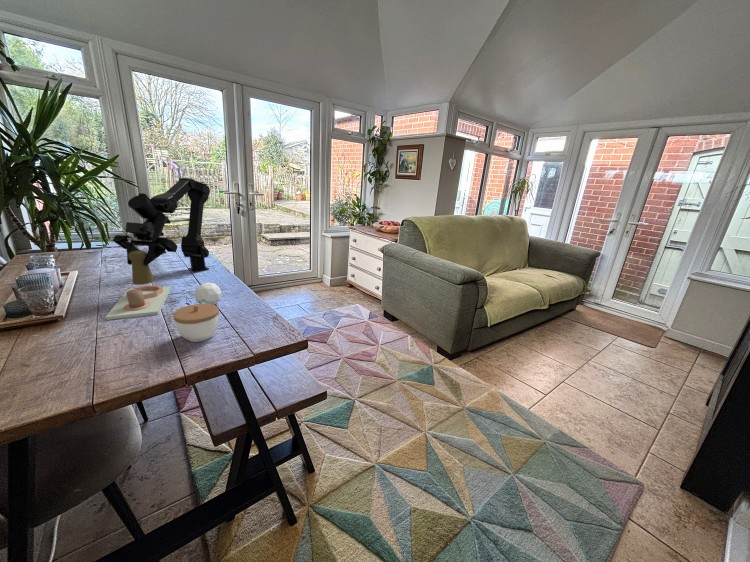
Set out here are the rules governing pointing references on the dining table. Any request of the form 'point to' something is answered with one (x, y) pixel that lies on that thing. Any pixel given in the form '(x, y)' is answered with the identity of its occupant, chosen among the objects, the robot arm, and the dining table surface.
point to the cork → (140, 268)
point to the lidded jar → (197, 321)
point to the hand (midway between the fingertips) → (136, 264)
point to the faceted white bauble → (207, 293)
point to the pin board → (142, 312)
